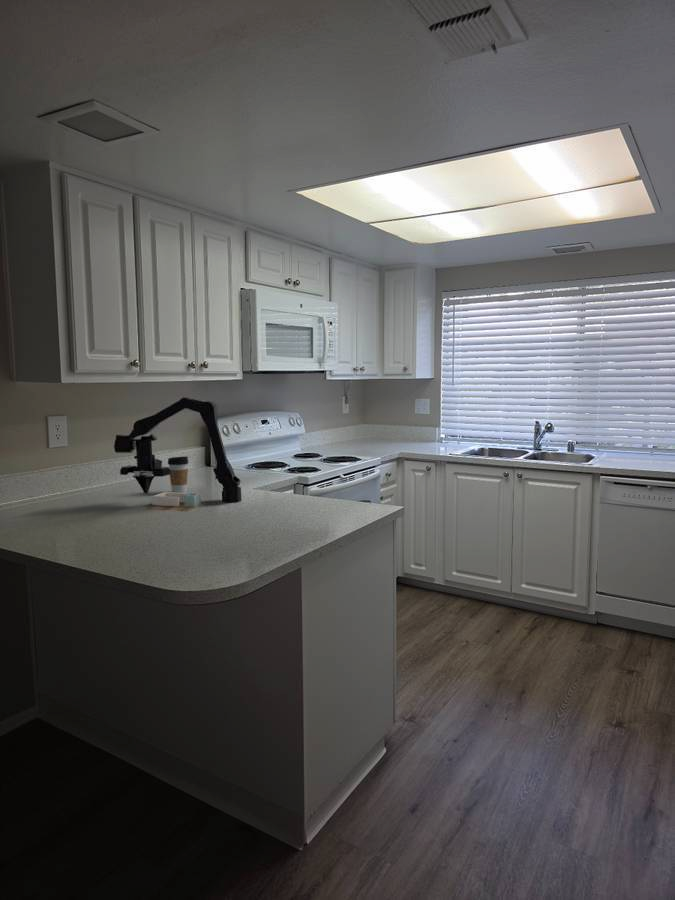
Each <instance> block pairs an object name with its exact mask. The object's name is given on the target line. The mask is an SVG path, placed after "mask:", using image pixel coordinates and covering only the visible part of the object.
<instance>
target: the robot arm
mask: <svg viewBox="0 0 675 900" xmlns="http://www.w3.org/2000/svg"><path fill="white" fill-rule="evenodd" d="M185 409H187V410H189V411H194V412H195V413H198V414H199V415H200V417H201V419H202V421H203V423H204V424H205V425H206V428H207V432H208V435H209V438H210V439H209V440H210V443H211V446H212V449H213V450H212V451H213V454H214V458H215V461H216V466H215V467H214V468H213V469H212V470H213V472H214V475H215V477H214V478H215V480H217V481H218V483H219V484H220V485H221V486H222V491H221V502H224V503H228V504H229V503H230V504H232V503H233V504H235V503H240V502H242V487H241V486H240V485H241V481H242V480H241V479H240V478H239V477H238V476H237V475H236V474H235V470H234V468H233V466H232V465H231V463H230V462H229V460H228V458H227V455H226V450H225V446H224V442H223V439H222V436H221V431H220V428H219V423H218V421H219V420H218V416H219V415H218V406H217V405H216V403H215V402H214V401H212V400H206V401H202V400H198V399H194V398H190V397H188V396H186V397H182V398H180V399H179V400H177V401H176V402H173V403H172V404H170V405H168V406H167V407H165V408H164V409H161V410H160V411H159V412H156V413H155V414H152V415H149V416H147V417H144V418H140V419H139V420H136V421H135V422H134V423H133V427H132V428H133V429H132V430H131V432H130V433H129V434H117V435H115V439H114V440H115V441H114V444H113V447H114V448H113V449H114V452H115V453H116V454H122V453H123V454H132V453H133V452H134V451H135V453H136V455H133V457H134V460H136V465H124V466H121V468H120V470H119V474H120V475H122V476H128V475H129V473H131V474H133V476H132V478H133V479H135V480H136V481H137V483H138V484H139V486H140V487H141V490H142V491H143V494H149V491H150V489H151V484H152V481H153V480H154V478H155V477H166V476H170V469H169V466H163V460H161V459H158V458H156V456H155V454H153V444H152V443H153V441H154V442H155V441H157V440H158V437H156V436H155V435H154V434H152V433H151V432H152V431H153V430H155V429H156V428H157V427H158V426H159V425H160V424H161V423H163V422H165V421H166V420H168V419H170V418H171V417H174V416H175V415H176V414H179V413H181V412H183V410H185ZM150 433H151V434H150ZM148 434H150V435H148ZM140 436H141V437H140ZM139 437H140V438H139Z"/></svg>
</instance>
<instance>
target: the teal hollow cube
mask: <svg viewBox="0 0 675 900" xmlns="http://www.w3.org/2000/svg"><path fill="white" fill-rule="evenodd" d="M184 500H185V506H189V507H196V506H198V505H201V503H202V502H201V493H190V494H187V495H184Z"/></svg>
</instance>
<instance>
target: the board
mask: <svg viewBox="0 0 675 900" xmlns="http://www.w3.org/2000/svg"><path fill="white" fill-rule="evenodd" d="M207 504H208V503H206V502H201V505H198V506H196V507H189V506H185V502H180V506H165V505H150V506H147V507H145V508H143V509H145V510H146V509H147V510H160V511H173V512H174V511H175V512H185V513H186V512H187V513H188V512H189V511H192V510H195V509H197V508H200V507H202V506H204V505H207Z"/></svg>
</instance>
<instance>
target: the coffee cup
mask: <svg viewBox="0 0 675 900" xmlns="http://www.w3.org/2000/svg"><path fill="white" fill-rule="evenodd" d="M188 464H189V458H188V456H175V457H169V458H167V465H168V467H169V469H170V475H169V479H170V480H169V481H170V486H171V487H170V488H171V492H173V493H188V492H187V491H188V490H187V489H188V473H189V471H188V469H189V468H188Z"/></svg>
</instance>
